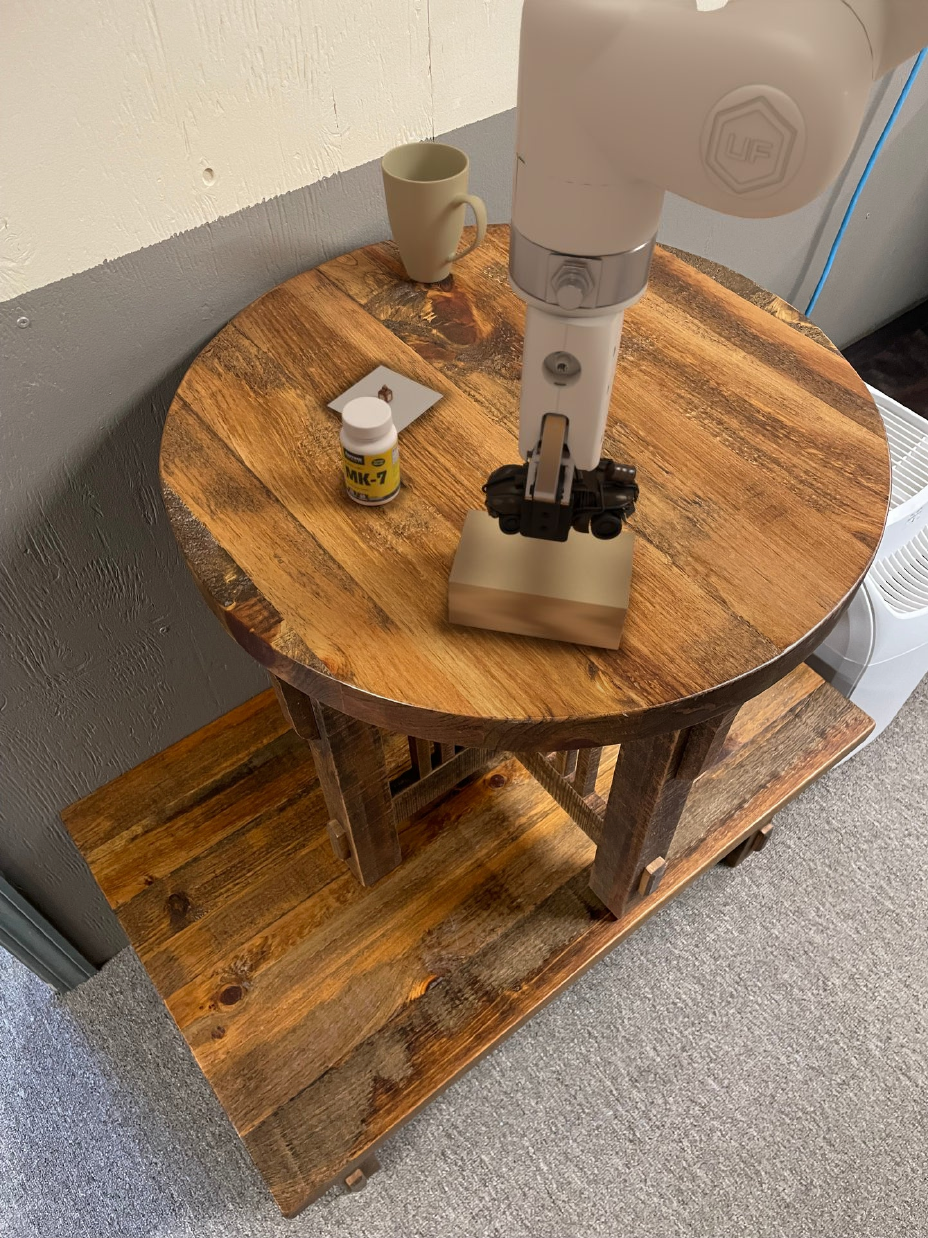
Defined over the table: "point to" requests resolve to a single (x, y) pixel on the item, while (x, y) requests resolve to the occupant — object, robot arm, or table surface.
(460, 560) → the birch block
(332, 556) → the table surface
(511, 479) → the toy car
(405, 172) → the mug
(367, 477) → the supplement bottle
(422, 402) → the gray square plate
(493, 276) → the table surface
